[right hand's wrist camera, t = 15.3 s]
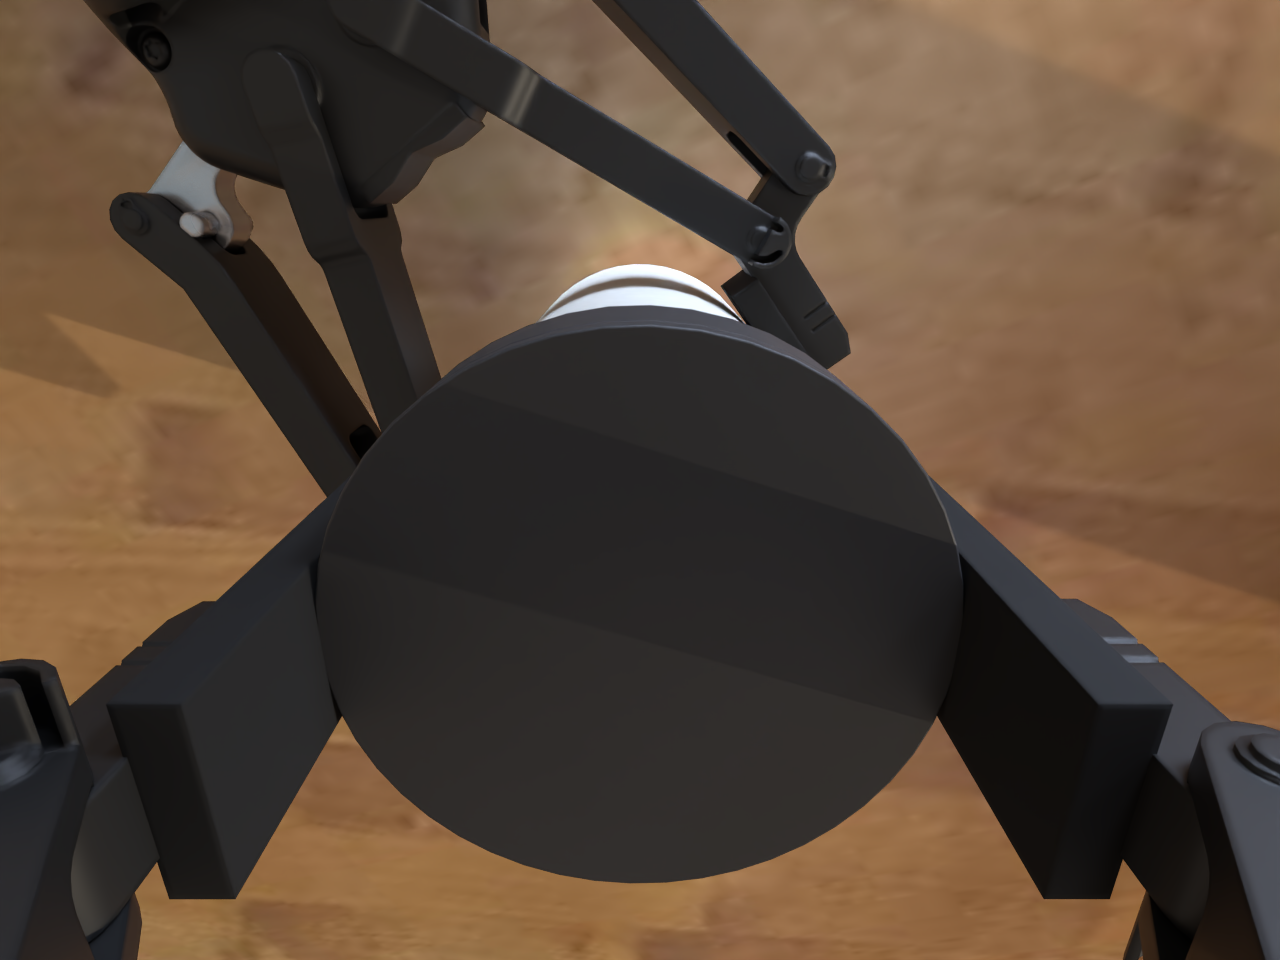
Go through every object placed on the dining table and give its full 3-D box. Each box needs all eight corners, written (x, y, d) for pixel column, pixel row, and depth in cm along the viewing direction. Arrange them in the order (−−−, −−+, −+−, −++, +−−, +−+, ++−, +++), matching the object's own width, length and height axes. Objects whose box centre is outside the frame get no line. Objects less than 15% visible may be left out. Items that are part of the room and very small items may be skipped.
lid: (834, 823, 14) (862, 914, 12) (356, 762, 14) (312, 848, 12) (995, 359, 11) (1066, 390, 9) (371, 253, 10) (314, 263, 8)
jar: (499, 449, 27) (324, 751, 12) (564, 228, 24) (442, 265, 9) (705, 516, 28) (779, 872, 13) (791, 312, 25) (1012, 467, 10)
